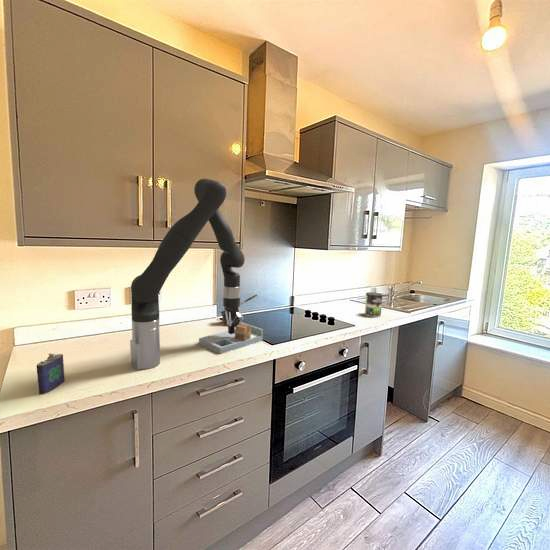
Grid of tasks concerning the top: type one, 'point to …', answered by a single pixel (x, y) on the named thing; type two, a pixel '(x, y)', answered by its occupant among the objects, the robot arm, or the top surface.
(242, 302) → the coffee pot
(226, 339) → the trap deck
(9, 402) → the top surface
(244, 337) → the block
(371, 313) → the coffee can
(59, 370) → the flask
